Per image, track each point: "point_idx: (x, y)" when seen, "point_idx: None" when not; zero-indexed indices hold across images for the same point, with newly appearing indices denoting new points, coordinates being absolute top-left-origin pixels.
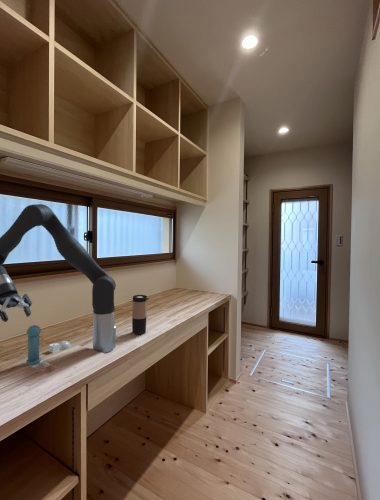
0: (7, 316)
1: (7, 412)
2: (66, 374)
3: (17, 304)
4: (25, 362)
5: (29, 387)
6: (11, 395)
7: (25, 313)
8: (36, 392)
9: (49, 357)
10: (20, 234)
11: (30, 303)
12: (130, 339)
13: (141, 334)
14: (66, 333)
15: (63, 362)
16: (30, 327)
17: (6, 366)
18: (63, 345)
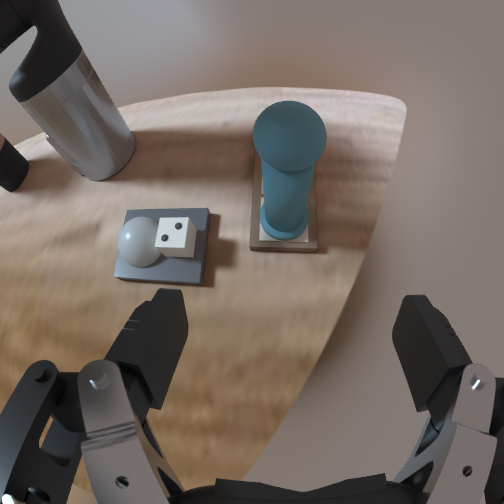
0: (418, 310)
1: (402, 110)
2: None
3: (204, 489)
4: (301, 241)
5: (351, 134)
6: (387, 140)
7: (175, 362)
8: (348, 111)
9: (212, 236)
10: None
11: (45, 372)
12: (50, 157)
13: (27, 161)
14: None
15: (219, 167)
16: (313, 115)
17: (338, 302)
18: (149, 221)
